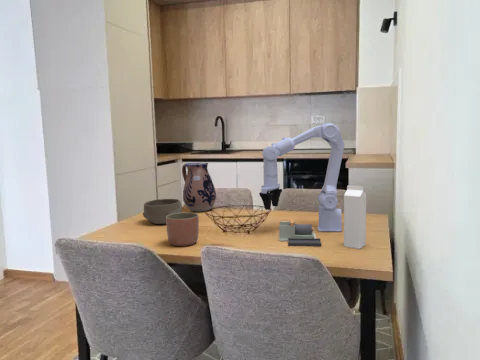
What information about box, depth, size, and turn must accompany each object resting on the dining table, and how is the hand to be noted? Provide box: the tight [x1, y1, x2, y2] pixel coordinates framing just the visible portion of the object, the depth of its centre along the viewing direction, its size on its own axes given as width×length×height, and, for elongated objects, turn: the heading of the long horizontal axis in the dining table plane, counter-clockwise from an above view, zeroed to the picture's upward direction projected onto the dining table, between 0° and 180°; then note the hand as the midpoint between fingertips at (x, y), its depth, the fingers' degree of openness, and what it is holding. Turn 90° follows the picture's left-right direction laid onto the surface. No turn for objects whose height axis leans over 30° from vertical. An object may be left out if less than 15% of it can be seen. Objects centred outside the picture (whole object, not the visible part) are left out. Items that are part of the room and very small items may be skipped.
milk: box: [343, 184, 367, 250], centre depth 153 cm, size 6×6×22 cm
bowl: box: [142, 198, 183, 225], centre depth 200 cm, size 17×18×10 cm
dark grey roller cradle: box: [287, 237, 322, 247], centre depth 159 cm, size 12×6×1 cm, turn 83°
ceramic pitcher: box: [181, 162, 217, 213], centre depth 226 cm, size 18×21×25 cm
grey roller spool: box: [288, 223, 315, 235], centre depth 166 cm, size 11×4×4 cm, turn 83°
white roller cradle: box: [278, 221, 317, 242], centre depth 167 cm, size 14×9×6 cm, turn 83°
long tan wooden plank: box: [290, 217, 295, 226], centre depth 166 cm, size 1×9×1 cm, turn 172°
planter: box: [165, 211, 200, 247], centre depth 163 cm, size 12×12×11 cm
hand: (271, 207), depth 177 cm, fingers open, 7 cm apart
